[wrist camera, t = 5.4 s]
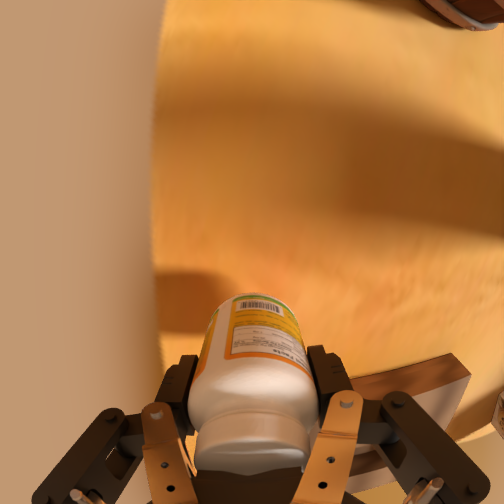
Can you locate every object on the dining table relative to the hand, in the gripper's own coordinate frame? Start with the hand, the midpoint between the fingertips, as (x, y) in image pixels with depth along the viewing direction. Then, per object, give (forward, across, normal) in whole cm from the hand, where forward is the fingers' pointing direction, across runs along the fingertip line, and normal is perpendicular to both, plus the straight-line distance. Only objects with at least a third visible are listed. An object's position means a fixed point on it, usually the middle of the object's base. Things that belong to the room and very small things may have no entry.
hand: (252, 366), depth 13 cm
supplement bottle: (+4, 0, 0) cm, 4 cm away
